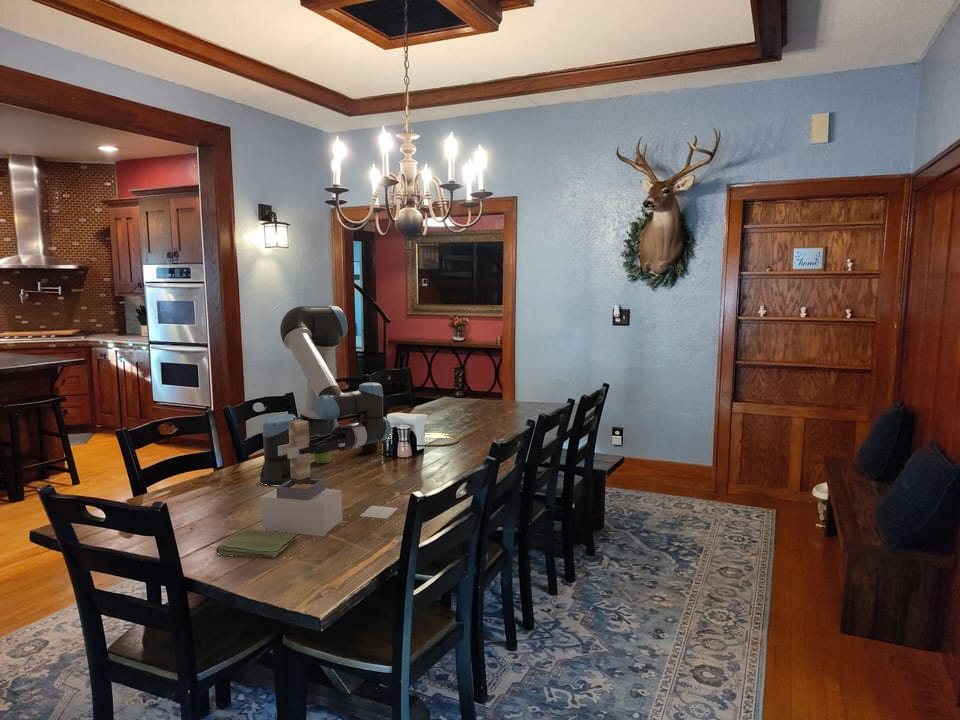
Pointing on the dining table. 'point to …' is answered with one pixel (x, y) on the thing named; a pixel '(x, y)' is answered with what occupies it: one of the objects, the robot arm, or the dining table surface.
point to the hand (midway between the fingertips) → (283, 452)
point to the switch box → (302, 509)
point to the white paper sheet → (378, 512)
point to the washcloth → (256, 544)
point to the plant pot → (323, 457)
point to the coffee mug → (370, 447)
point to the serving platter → (441, 436)
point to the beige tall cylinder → (302, 463)
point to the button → (302, 486)
